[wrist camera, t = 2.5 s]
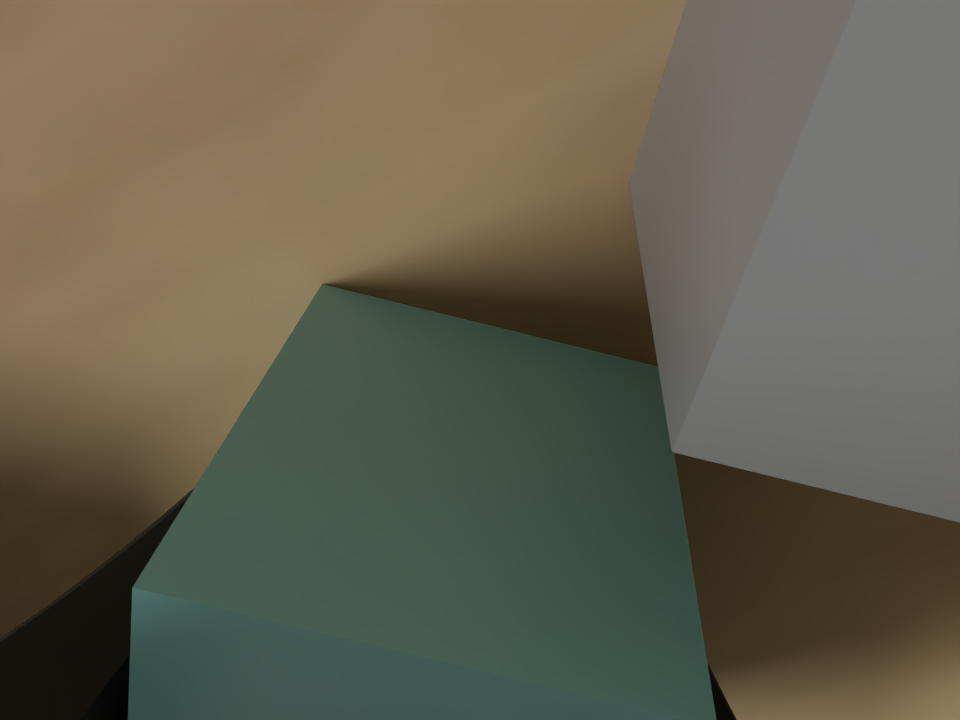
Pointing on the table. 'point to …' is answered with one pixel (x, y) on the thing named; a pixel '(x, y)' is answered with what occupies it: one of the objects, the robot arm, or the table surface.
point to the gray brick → (810, 243)
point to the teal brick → (428, 537)
